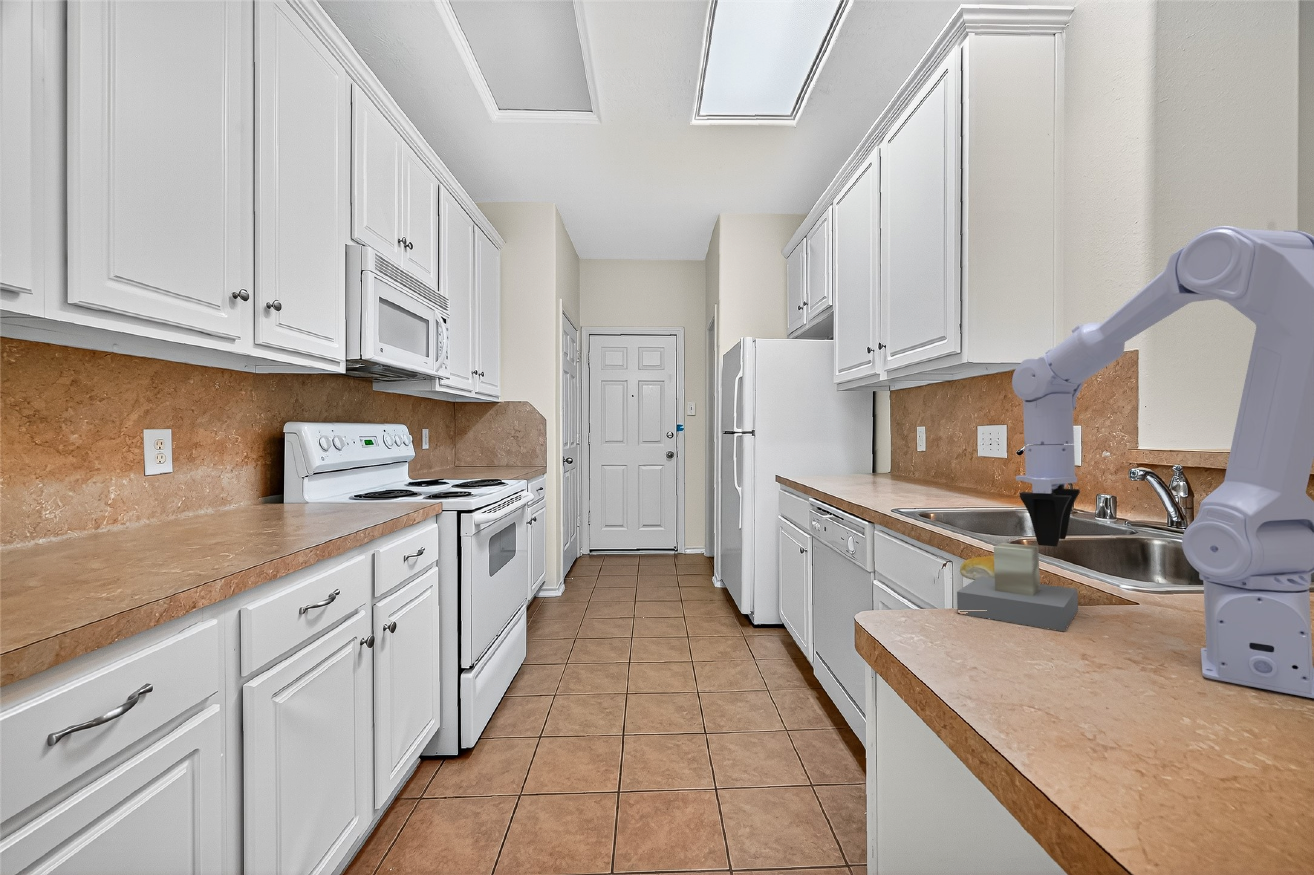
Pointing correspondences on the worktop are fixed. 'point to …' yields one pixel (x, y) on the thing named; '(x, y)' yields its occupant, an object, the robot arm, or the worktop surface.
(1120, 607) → the worktop surface
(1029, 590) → the sage block
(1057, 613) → the slate plinth
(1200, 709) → the worktop surface
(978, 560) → the bread roll
